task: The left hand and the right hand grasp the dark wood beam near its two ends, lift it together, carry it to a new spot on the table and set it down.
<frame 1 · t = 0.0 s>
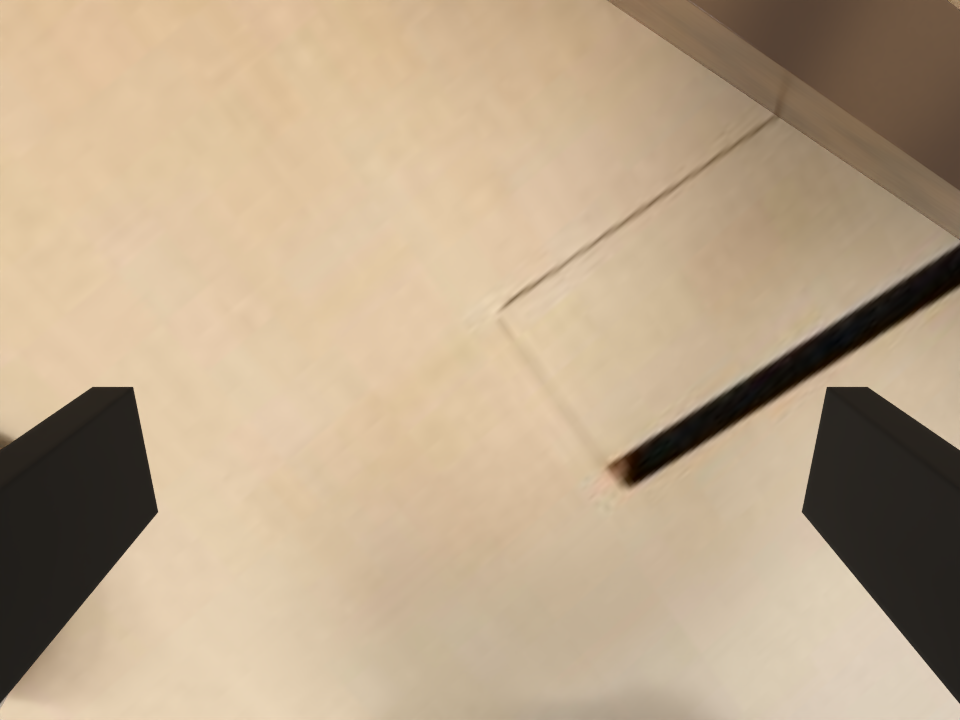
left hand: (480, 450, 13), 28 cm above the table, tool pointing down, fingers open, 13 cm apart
beam: (745, 23, 35), on the table
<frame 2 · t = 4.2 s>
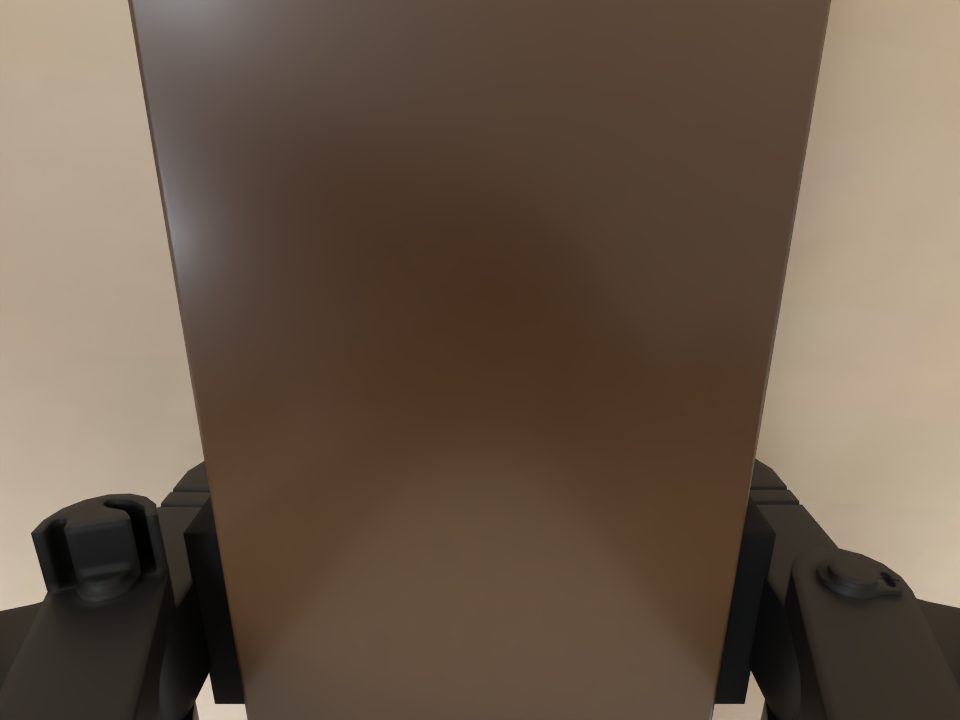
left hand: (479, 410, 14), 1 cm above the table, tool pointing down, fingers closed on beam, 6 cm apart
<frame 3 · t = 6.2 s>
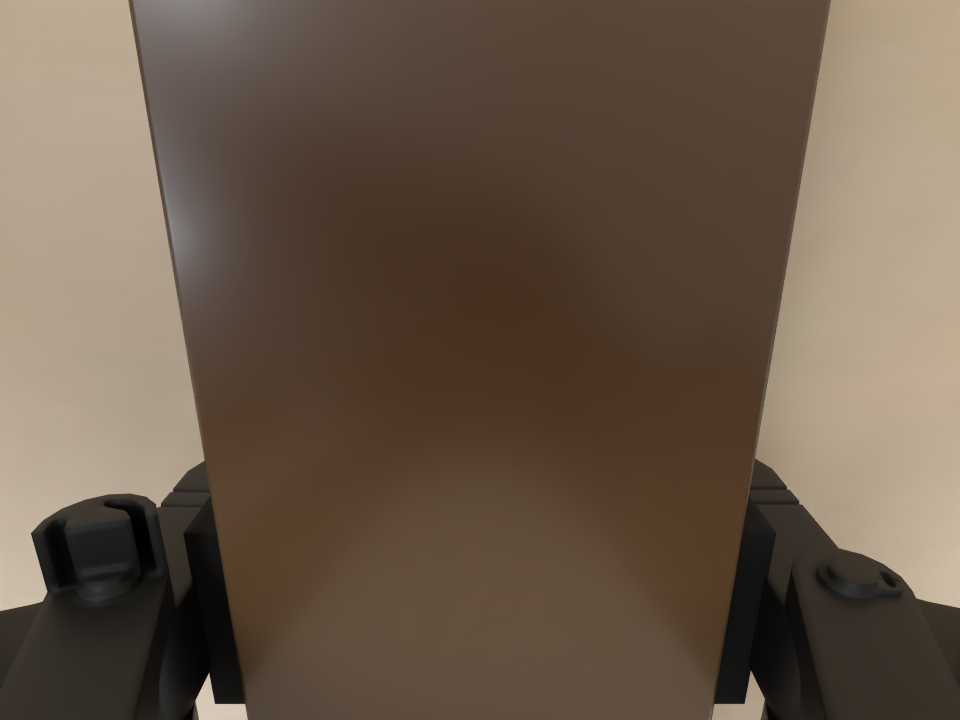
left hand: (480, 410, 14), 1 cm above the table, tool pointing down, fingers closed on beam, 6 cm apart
when the left hand's fingers open (2 cm above the table, at t = 10.1 s): beam stays where it is, on the table.
when the right hand's fingers open (3 cm above the table, at t = 10.3 s): beam stays where it is, on the table.
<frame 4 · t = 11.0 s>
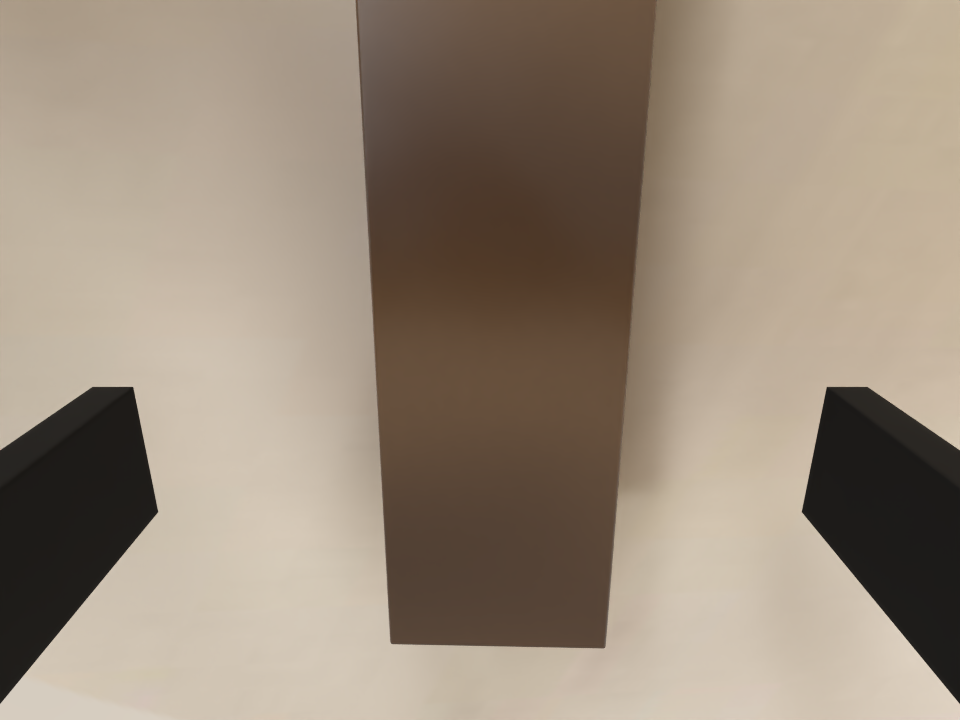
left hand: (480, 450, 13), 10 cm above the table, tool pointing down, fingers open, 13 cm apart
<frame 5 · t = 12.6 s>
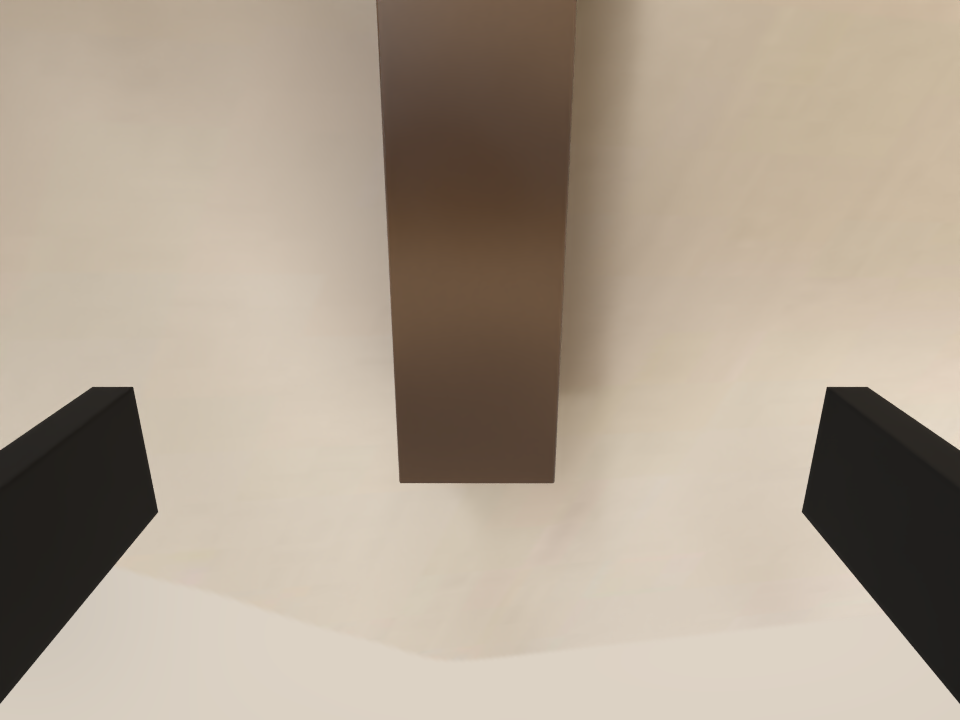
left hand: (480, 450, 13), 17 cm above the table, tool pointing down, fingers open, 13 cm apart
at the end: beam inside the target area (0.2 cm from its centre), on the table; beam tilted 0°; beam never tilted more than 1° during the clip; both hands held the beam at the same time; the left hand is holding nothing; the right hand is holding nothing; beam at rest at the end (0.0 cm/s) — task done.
